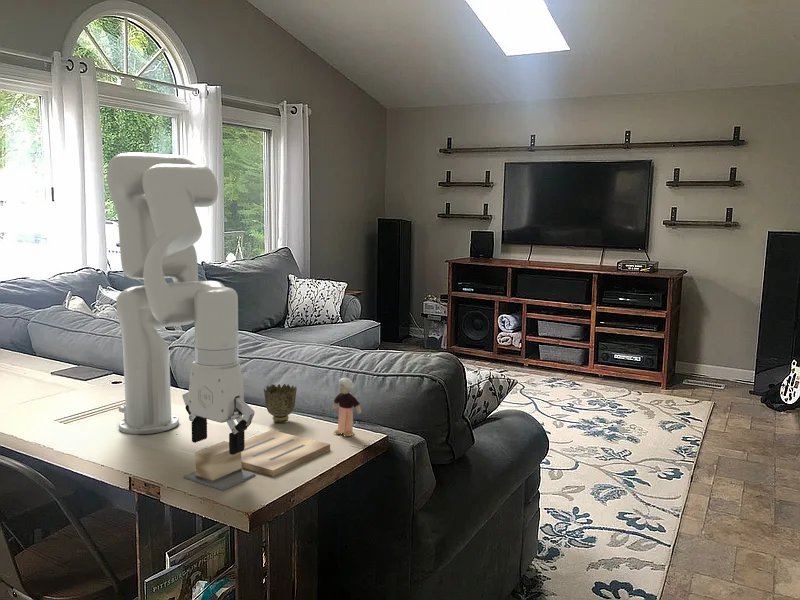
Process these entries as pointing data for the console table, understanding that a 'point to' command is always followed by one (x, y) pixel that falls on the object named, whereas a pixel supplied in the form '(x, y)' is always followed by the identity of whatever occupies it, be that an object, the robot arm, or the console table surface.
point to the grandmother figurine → (346, 407)
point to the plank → (278, 452)
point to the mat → (225, 482)
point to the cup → (280, 401)
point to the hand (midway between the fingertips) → (217, 446)
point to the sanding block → (216, 463)
